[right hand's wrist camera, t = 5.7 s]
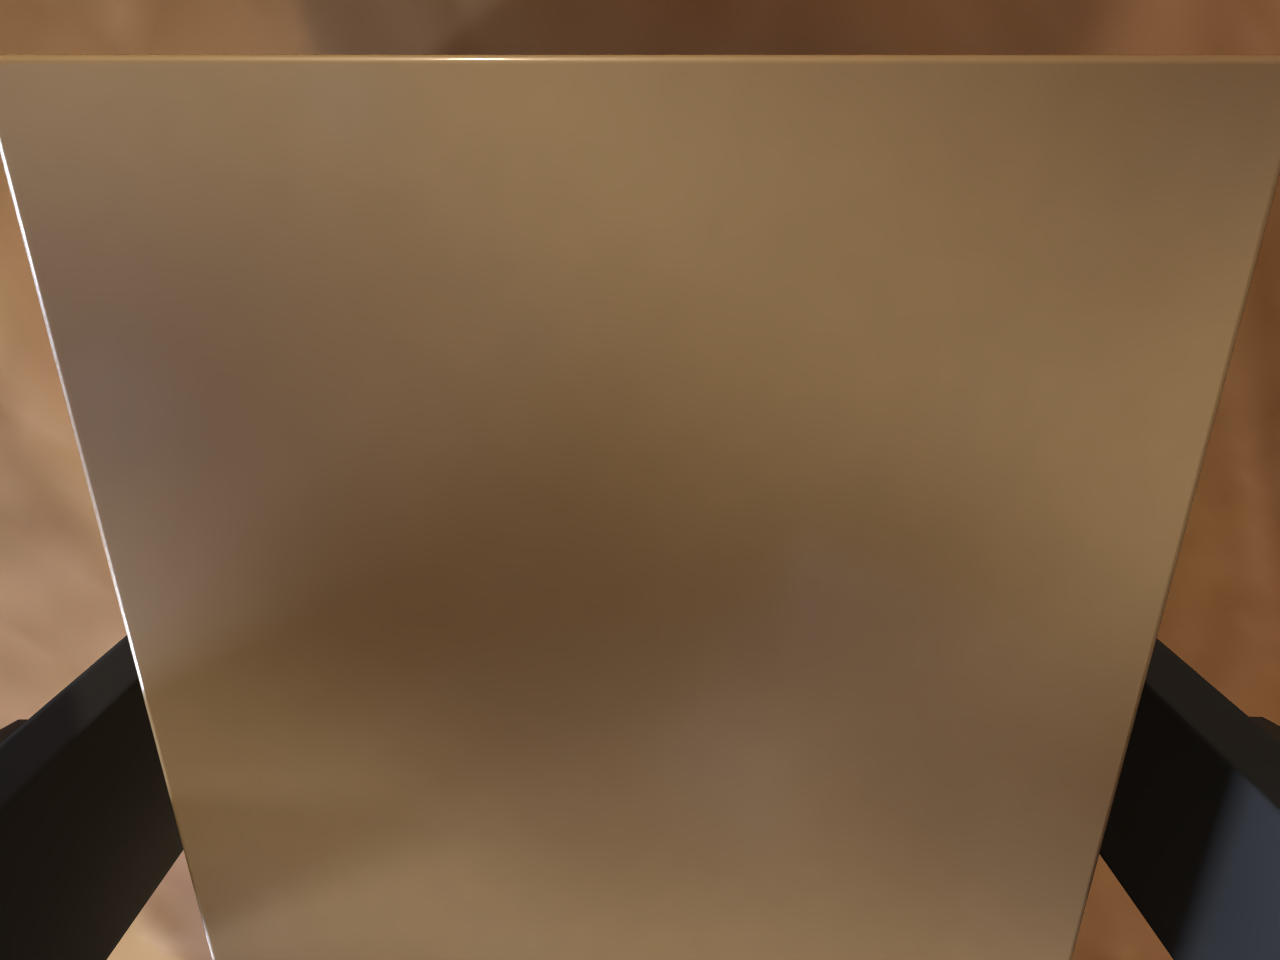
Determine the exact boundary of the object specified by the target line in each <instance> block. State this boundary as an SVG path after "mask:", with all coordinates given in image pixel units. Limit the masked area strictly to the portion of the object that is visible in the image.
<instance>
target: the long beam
mask: <svg viewBox="0 0 1280 960" xmlns="http://www.w3.org/2000/svg"><path fill="white" fill-rule="evenodd" d="M0 154H1V158H2V162H3V165H4V169H5V173H6V177H7V181H8V184H9V188H10V192H11V196H12V199H13V203H14V207H15V211H16V215H17V218H18V222H19V226H20V230H21V234H22V237H23V241H24V245H25V249H26V253H27V256H28V260H29V264H30V268H31V272H32V275H33V279H34V283H35V287H36V291H37V294H38V298H39V302H40V306H41V310H42V313H43V317H44V321H45V325H46V329H47V332H48V336H49V340H50V344H51V348H52V351H53V355H54V359H55V363H56V367H57V370H58V374H59V378H60V382H61V386H62V389H63V393H64V397H65V401H66V405H67V408H68V412H69V416H70V420H71V424H72V427H73V431H74V435H75V439H76V443H77V446H78V450H79V454H80V458H81V462H82V465H83V469H84V473H85V477H86V481H87V484H88V488H89V492H90V496H91V500H92V503H93V507H94V511H95V515H96V519H97V522H98V526H99V530H100V534H101V538H102V541H103V545H104V549H105V553H106V557H107V560H108V564H109V568H110V572H111V576H112V579H113V583H114V587H115V591H116V595H117V598H118V602H119V606H120V610H121V614H122V617H123V621H124V625H125V629H126V633H127V636H128V640H129V644H130V648H131V652H132V655H133V659H134V663H135V667H136V671H137V674H138V678H139V682H140V686H141V690H142V693H143V697H144V701H145V705H146V709H147V712H148V716H149V720H150V724H151V728H152V731H153V735H154V739H155V743H156V746H157V750H158V754H159V758H160V762H161V765H162V769H163V773H164V777H165V781H166V784H167V788H168V792H169V796H170V800H171V803H172V807H173V811H174V815H175V819H176V822H177V826H178V830H179V834H180V838H181V841H182V845H183V849H184V853H185V857H186V860H187V864H188V868H189V872H190V876H191V879H192V883H193V887H194V891H195V895H196V898H197V902H198V906H199V910H200V914H201V917H202V921H203V925H204V929H205V933H206V936H207V940H208V944H209V948H210V952H211V955H212V959H213V960H1071V958H1072V954H1073V951H1074V947H1075V943H1076V939H1077V935H1078V932H1079V928H1080V924H1081V920H1082V917H1083V913H1084V909H1085V905H1086V902H1087V898H1088V894H1089V890H1090V886H1091V883H1092V879H1093V875H1094V871H1095V868H1096V864H1097V860H1098V856H1099V853H1100V849H1101V845H1102V841H1103V838H1104V834H1105V830H1106V826H1107V822H1108V819H1109V815H1110V811H1111V807H1112V804H1113V800H1114V796H1115V792H1116V789H1117V785H1118V781H1119V777H1120V773H1121V770H1122V766H1123V762H1124V758H1125V755H1126V751H1127V747H1128V743H1129V740H1130V736H1131V732H1132V728H1133V724H1134V721H1135V717H1136V713H1137V709H1138V706H1139V702H1140V698H1141V694H1142V691H1143V687H1144V683H1145V679H1146V676H1147V672H1148V668H1149V664H1150V660H1151V657H1152V653H1153V649H1154V645H1155V642H1156V638H1157V634H1158V630H1159V627H1160V623H1161V619H1162V615H1163V611H1164V608H1165V604H1166V600H1167V596H1168V593H1169V589H1170V585H1171V581H1172V578H1173V574H1174V570H1175V566H1176V562H1177V559H1178V555H1179V551H1180V547H1181V544H1182V540H1183V536H1184V532H1185V529H1186V525H1187V521H1188V517H1189V514H1190V510H1191V506H1192V502H1193V498H1194V495H1195V491H1196V487H1197V483H1198V480H1199V476H1200V472H1201V468H1202V465H1203V461H1204V457H1205V453H1206V449H1207V446H1208V442H1209V438H1210V434H1211V431H1212V427H1213V423H1214V419H1215V416H1216V412H1217V408H1218V404H1219V401H1220V397H1221V393H1222V389H1223V385H1224V382H1225V378H1226V374H1227V370H1228V367H1229V363H1230V359H1231V355H1232V352H1233V348H1234V344H1235V340H1236V336H1237V333H1238V329H1239V325H1240V321H1241V318H1242V314H1243V310H1244V306H1245V303H1246V299H1247V295H1248V291H1249V287H1250V284H1251V280H1252V276H1253V272H1254V269H1255V265H1256V261H1257V257H1258V254H1259V250H1260V246H1261V242H1262V239H1263V235H1264V231H1265V227H1266V223H1267V220H1268V216H1269V212H1270V208H1271V205H1272V201H1273V197H1274V193H1275V190H1276V186H1277V182H1278V178H1279V174H1280V55H0Z"/></svg>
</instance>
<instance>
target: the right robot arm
mask: <svg viewBox="0 0 1280 960" xmlns="http://www.w3.org/2000/svg"><path fill="white" fill-rule="evenodd" d="M182 851H183V845H182V841H181V838H180V834H179V830H178V826H177V822H176V819H175V815H174V811H173V807H172V803H171V800H170V796H169V792H168V788H167V784H166V781H165V777H164V773H163V769H162V765H161V762H160V758H159V754H158V750H157V746H156V743H155V739H154V735H153V731H152V728H151V724H150V720H149V716H148V712H147V709H146V705H145V701H144V697H143V693H142V690H141V686H140V682H139V678H138V674H137V671H136V667H135V663H134V659H133V655H132V652H131V648H130V644H129V640H128V636H125V637H124V638H123V639H122V640H121V641H120V642H118V643H117V644H116V645H115V646H114V647H113V648H111V649H110V650H109V651H108V652H107V653H106V654H104V655H103V656H102V657H101V658H100V659H99V660H97V661H96V662H95V663H94V664H93V665H92V666H90V667H89V668H88V669H87V670H86V671H84V672H83V673H82V674H81V675H80V676H79V677H77V678H76V679H75V680H74V681H73V682H72V683H70V684H69V685H68V686H67V687H66V688H65V689H63V690H62V691H61V692H60V693H59V694H58V695H56V696H55V697H54V698H53V699H52V700H51V701H49V702H48V703H47V704H46V705H45V706H44V707H42V708H41V709H40V710H39V711H38V712H37V713H35V714H34V715H33V716H32V717H31V718H30V719H28V720H17V721H15V722H13V723H11V724H10V725H8V726H6V727H4V728H2V729H1V730H0V960H107V958H108V957H109V955H110V954H111V952H112V951H113V950H114V948H115V947H116V945H117V944H118V942H119V941H120V940H121V938H122V937H123V935H124V934H125V932H126V931H127V930H128V928H129V927H130V925H131V924H132V922H133V921H134V920H135V918H136V917H137V915H138V914H139V912H140V911H141V910H142V908H143V907H144V905H145V904H146V902H147V901H148V899H149V898H150V897H151V895H152V894H153V892H154V891H155V889H156V888H157V887H158V885H159V884H160V882H161V881H162V879H163V878H164V877H165V875H166V874H167V872H168V871H169V869H170V868H171V867H172V865H173V864H174V862H175V861H176V859H177V858H178V857H179V855H180V854H181V852H182ZM1099 854H1100V855H1101V857H1102V858H1103V859H1104V861H1105V862H1106V864H1107V865H1108V867H1109V868H1110V869H1111V871H1112V872H1113V874H1114V875H1115V877H1116V878H1117V879H1118V881H1119V882H1120V884H1121V885H1122V887H1123V888H1124V889H1125V891H1126V892H1127V894H1128V895H1129V897H1130V898H1131V899H1132V901H1133V902H1134V904H1135V905H1136V907H1137V908H1138V909H1139V911H1140V912H1141V914H1142V915H1143V917H1144V918H1145V919H1146V921H1147V922H1148V924H1149V925H1150V927H1151V928H1152V929H1153V931H1154V932H1155V934H1156V935H1157V937H1158V938H1159V940H1160V941H1161V942H1162V944H1163V945H1164V947H1165V948H1166V950H1167V951H1168V952H1169V954H1170V955H1171V957H1172V958H1173V960H1280V726H1278V725H1276V724H1274V723H1273V722H1271V721H1269V720H1267V719H1265V718H1263V717H1248V716H1247V715H1246V714H1245V713H1244V712H1242V711H1241V710H1240V709H1239V708H1238V707H1236V706H1235V705H1234V704H1233V703H1232V702H1231V701H1229V700H1228V699H1227V698H1226V697H1225V696H1224V695H1222V694H1221V693H1220V692H1219V691H1218V690H1217V689H1215V688H1214V687H1213V686H1212V685H1211V684H1210V683H1208V682H1207V681H1206V680H1205V679H1204V678H1203V677H1201V676H1200V675H1199V674H1198V673H1197V672H1196V671H1194V670H1193V669H1192V668H1191V667H1190V666H1189V665H1187V664H1186V663H1185V662H1184V661H1183V660H1182V659H1180V658H1179V657H1178V656H1177V655H1176V654H1174V653H1173V652H1172V651H1171V650H1170V649H1169V648H1167V647H1166V646H1165V645H1164V644H1163V643H1162V642H1160V641H1159V640H1158V639H1157V638H1156V642H1155V645H1154V649H1153V653H1152V657H1151V660H1150V664H1149V668H1148V672H1147V676H1146V679H1145V683H1144V687H1143V691H1142V694H1141V698H1140V702H1139V706H1138V709H1137V713H1136V717H1135V721H1134V724H1133V728H1132V732H1131V736H1130V740H1129V743H1128V747H1127V751H1126V755H1125V758H1124V762H1123V766H1122V770H1121V773H1120V777H1119V781H1118V785H1117V789H1116V792H1115V796H1114V800H1113V804H1112V807H1111V811H1110V815H1109V819H1108V822H1107V826H1106V830H1105V834H1104V838H1103V841H1102V845H1101V849H1100V853H1099Z"/></svg>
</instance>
